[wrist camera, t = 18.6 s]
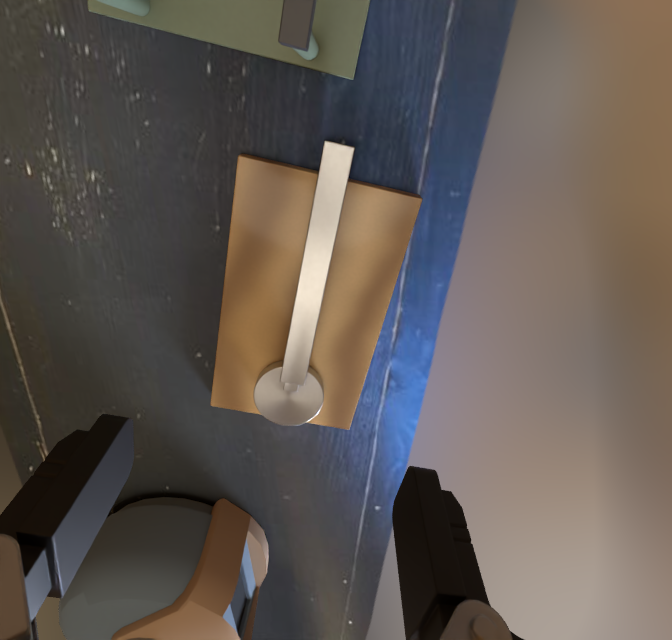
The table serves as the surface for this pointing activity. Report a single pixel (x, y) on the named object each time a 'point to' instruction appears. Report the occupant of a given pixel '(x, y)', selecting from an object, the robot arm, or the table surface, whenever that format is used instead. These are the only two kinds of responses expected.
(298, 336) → the ladle
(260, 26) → the rack
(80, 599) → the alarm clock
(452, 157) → the table surface
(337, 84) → the table surface
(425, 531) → the robot arm
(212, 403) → the board
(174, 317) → the table surface
